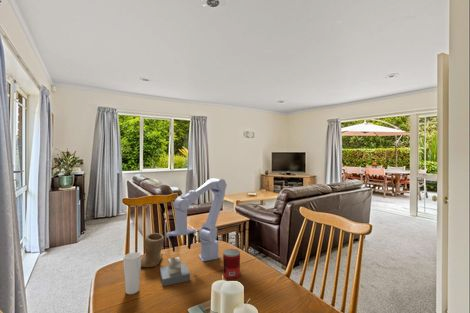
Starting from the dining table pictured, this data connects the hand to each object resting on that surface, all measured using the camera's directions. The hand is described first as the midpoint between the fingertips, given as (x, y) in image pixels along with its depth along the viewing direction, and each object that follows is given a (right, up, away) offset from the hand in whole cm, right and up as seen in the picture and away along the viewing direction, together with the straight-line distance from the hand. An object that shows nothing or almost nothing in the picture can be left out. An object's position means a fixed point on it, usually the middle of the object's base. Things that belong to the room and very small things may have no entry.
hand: (181, 249), depth 120 cm
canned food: (+25, -10, -7) cm, 28 cm away
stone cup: (-17, -10, +7) cm, 20 cm away
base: (-1, -9, -9) cm, 13 cm away
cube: (-1, -6, -9) cm, 11 cm away
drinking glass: (-16, -10, -20) cm, 28 cm away
